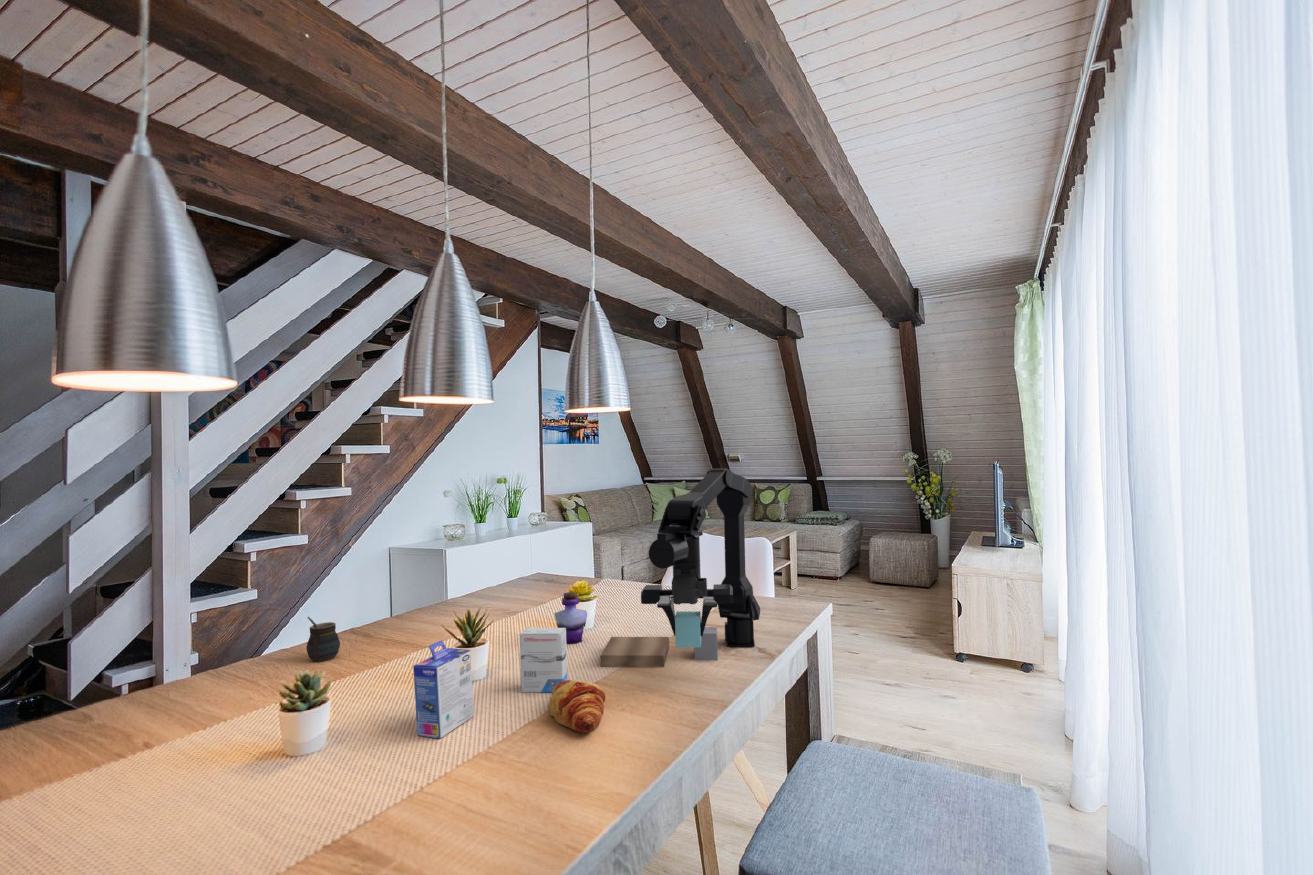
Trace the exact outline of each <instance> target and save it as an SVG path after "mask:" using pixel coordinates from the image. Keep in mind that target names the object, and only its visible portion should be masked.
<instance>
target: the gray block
mask: <svg viewBox="0 0 1313 875" xmlns="http://www.w3.org/2000/svg"><path fill="white" fill-rule="evenodd" d="M718 651H719V650H718V627H713V626H712V627H706V626H705V629H704V632H703V636H701V647H694V661H718Z"/></svg>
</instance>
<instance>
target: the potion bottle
mask: <svg viewBox="0 0 1313 875" xmlns="http://www.w3.org/2000/svg"><path fill="white" fill-rule="evenodd" d="M562 595H563V597H562V598H561V604H562V606H564V609H563V610H562V609H561V610H559V611H557V612H556V611H555V612H554V613H553V614H554V618H555V622H556V626H557V627H556V628H566V645H577V644H579V643H581V642H583V634H584V630H585V629H584V627H586V623H587V619H588V613H587V610H586V609H585V610H584V609H578V608H577V605H579V604H580V600H579V599H580V598H579V596H578V594H577V592H573V591H569V592H565V593H564V592H563V594H562Z"/></svg>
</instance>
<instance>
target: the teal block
mask: <svg viewBox="0 0 1313 875" xmlns="http://www.w3.org/2000/svg"><path fill="white" fill-rule="evenodd" d="M701 618H702V611H700V610H699V611H698V610H697V611H696V610H693V611H692V610H691V611H689V610H688V611H686V610H683V611H679V610H677V611H675V635H676V636H675V648H695V647H701V633H700V627H701Z"/></svg>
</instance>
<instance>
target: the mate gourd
mask: <svg viewBox="0 0 1313 875" xmlns="http://www.w3.org/2000/svg"><path fill="white" fill-rule="evenodd" d="M307 619H308V621H310V623H311V624H312V625H311V626H310V627H309V638H308V641H307V643H306V654H307V655H308V658H309V659H310V660H312V661H314V662H316V663H317V662H319V663H320V662H325V661H330V660H332V659H333V660H334V658H335V657H337V655H338V653H339V652H340V651H339V650H340V648H341V642H340V637H339V635H338V633H337V631H336V628H337V627H336V623H335V622H331V621H330V622H329V621H327V622H320V623H316V622H315V621H314V620H313V619H312V618H311V617H310V616H307Z"/></svg>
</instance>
